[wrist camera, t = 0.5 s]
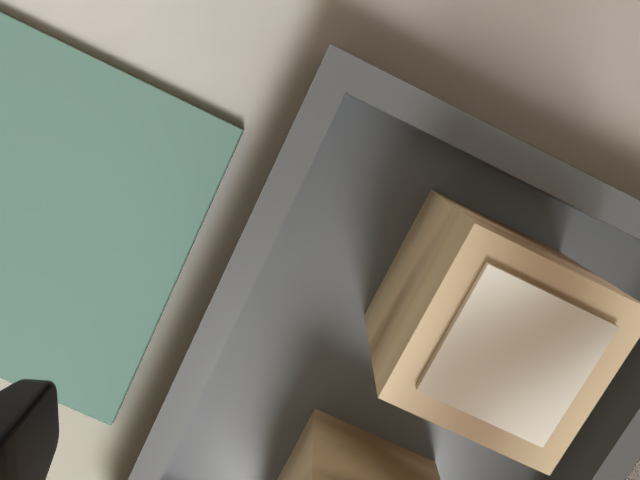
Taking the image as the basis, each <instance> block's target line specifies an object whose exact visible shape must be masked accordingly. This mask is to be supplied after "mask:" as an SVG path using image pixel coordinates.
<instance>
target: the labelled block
mask: <svg viewBox="0 0 640 480" xmlns="http://www.w3.org/2000/svg"><path fill="white" fill-rule="evenodd" d="M364 318H365V324H366V330H367V336H368V342H369V348H370V354H371V360H372V366H373V372H374V378H375V384H376V390H377V396H378V398H379V399H381V400H383V401H386V402H388V403H390V404H392V405H394V406H397V407H399V408H401V409H403V410H405V411H408V412H410V413H412V414H414V415H416V416H419V417H421V418H423V419H425V420H427V421H430V422H432V423H434V424H436V425H439V426H441V427H443V428H445V429H447V430H450V431H452V432H454V433H456V434H458V435H461V436H463V437H465V438H467V439H469V440H472V441H474V442H476V443H478V444H480V445H483V446H485V447H487V448H489V449H491V450H494V451H496V452H498V453H500V454H502V455H505V456H507V457H509V458H511V459H513V460H516V461H518V462H520V463H522V464H524V465H527V466H529V467H531V468H533V469H535V470H538V471H540V472H542V473H544V474H546V475H549V476H550V474H551V473H552V471H553V470H554V468H555V467H556V465H557V464H558V462H559V461H560V459H561V458H562V456H563V454H564V453H565V451H566V450H567V448H568V447H569V445H570V444H571V442H572V441H573V439H574V438H575V436H576V434H577V433H578V431H579V430H580V428H581V427H582V425H583V424H584V422H585V421H586V419H587V418H588V416H589V414H590V413H591V411H592V410H593V408H594V407H595V405H596V404H597V402H598V401H599V399H600V398H601V396H602V394H603V393H604V391H605V390H606V388H607V387H608V385H609V384H610V382H611V381H612V379H613V378H614V376H615V374H616V373H617V371H618V370H619V368H620V367H621V365H622V364H623V362H624V361H625V359H626V358H627V356H628V354H629V353H630V351H631V350H632V348H633V347H634V345H635V344H636V342H637V341H638V339H639V338H640V302H639V301H638V300H636V299H634V298H633V297H631V296H630V295H628V294H626V293H625V292H623V291H622V290H620V289H618V288H617V287H615V286H614V285H612V284H610V283H609V282H607V281H606V280H604V279H602V278H601V277H599V276H598V275H596V274H594V273H593V272H591V271H590V270H588V269H586V268H585V267H583V266H582V265H580V264H578V263H577V262H575V261H574V260H572V259H570V258H569V257H567V256H566V255H564V254H562V253H561V252H559V251H557V250H555V249H553V248H551V247H549V246H547V245H545V244H543V243H541V242H539V241H537V240H534V239H532V238H530V237H528V236H526V235H524V234H522V233H520V232H518V231H516V230H514V229H512V228H510V227H508V226H506V225H504V224H502V223H500V222H498V221H496V220H494V219H492V218H490V217H488V216H486V215H484V214H482V213H479V212H477V211H475V210H473V209H471V208H469V207H467V206H465V205H463V204H461V203H459V202H457V201H455V200H453V199H451V198H449V197H447V196H445V195H443V194H441V193H439V192H437V191H435V190H433V189H431V190H430V192H429V194H428V196H427V198H426V200H425V201H424V203H423V205H422V207H421V209H420V211H419V213H418V215H417V217H416V218H415V220H414V222H413V224H412V226H411V228H410V230H409V232H408V234H407V235H406V237H405V239H404V241H403V243H402V245H401V247H400V249H399V251H398V252H397V254H396V256H395V258H394V260H393V262H392V264H391V266H390V267H389V269H388V271H387V273H386V275H385V277H384V279H383V281H382V283H381V284H380V286H379V288H378V290H377V292H376V294H375V296H374V298H373V300H372V301H371V303H370V305H369V307H368V309H367V311H366V313H365V315H364Z"/></svg>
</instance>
